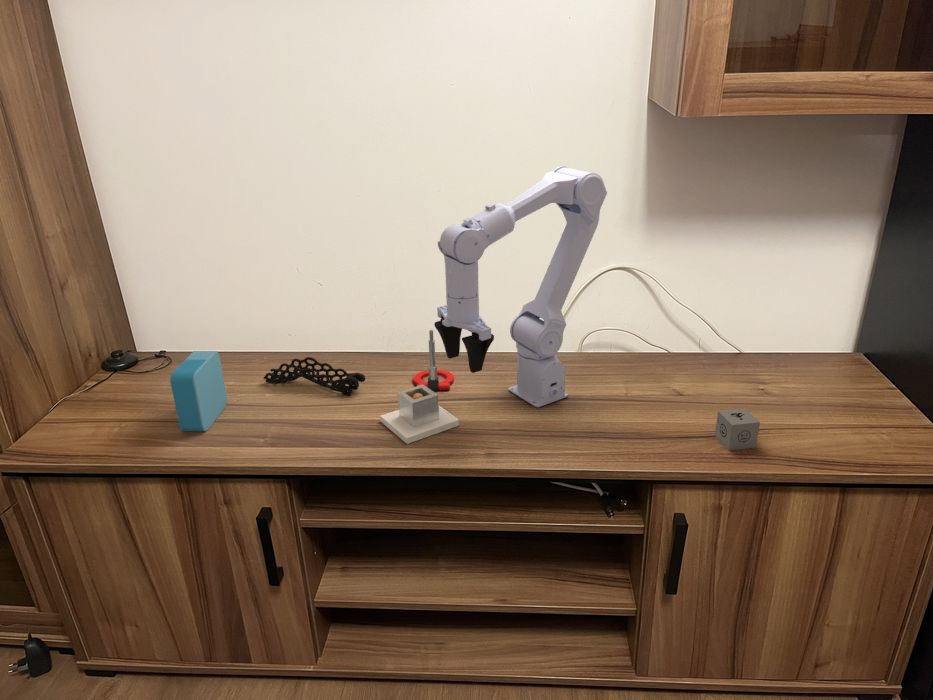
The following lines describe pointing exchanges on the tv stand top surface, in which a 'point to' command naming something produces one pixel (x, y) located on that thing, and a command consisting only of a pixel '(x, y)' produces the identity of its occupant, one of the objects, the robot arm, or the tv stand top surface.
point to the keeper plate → (420, 432)
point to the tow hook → (434, 372)
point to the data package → (198, 390)
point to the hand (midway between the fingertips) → (464, 363)
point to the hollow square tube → (418, 406)
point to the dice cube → (737, 429)
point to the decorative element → (317, 376)
